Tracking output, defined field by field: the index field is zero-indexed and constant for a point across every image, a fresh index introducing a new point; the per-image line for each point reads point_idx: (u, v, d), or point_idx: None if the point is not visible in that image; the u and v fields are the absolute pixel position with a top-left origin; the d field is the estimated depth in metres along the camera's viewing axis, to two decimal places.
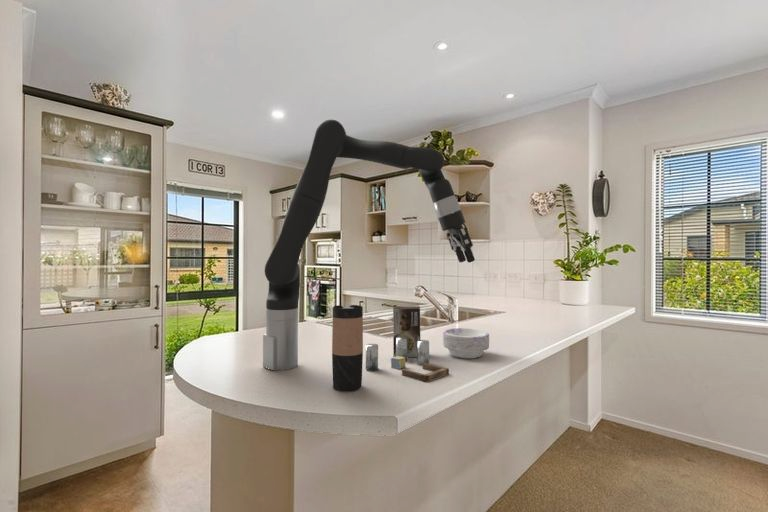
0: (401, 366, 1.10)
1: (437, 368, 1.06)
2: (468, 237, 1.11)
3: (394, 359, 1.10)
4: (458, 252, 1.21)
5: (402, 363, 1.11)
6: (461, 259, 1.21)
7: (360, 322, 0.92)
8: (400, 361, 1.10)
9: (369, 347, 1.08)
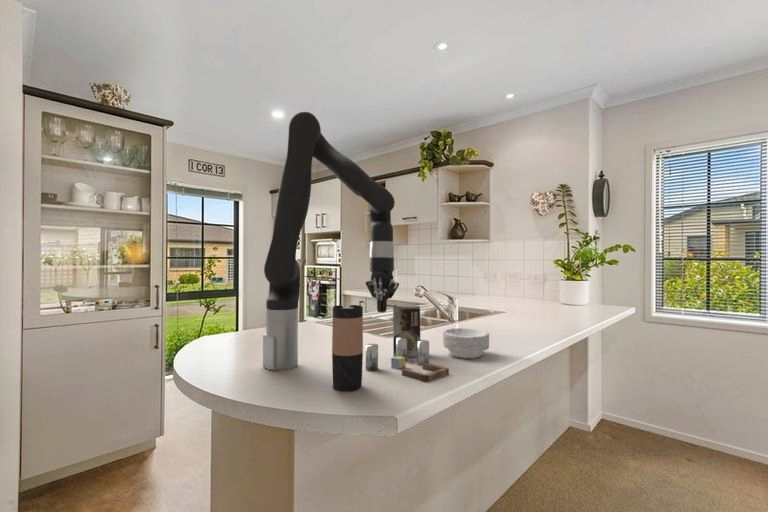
0: (401, 366, 1.10)
1: (437, 368, 1.06)
2: (394, 292, 1.14)
3: (394, 359, 1.10)
4: None
5: (402, 363, 1.11)
6: None
7: (360, 322, 0.92)
8: (400, 361, 1.10)
9: (369, 347, 1.08)
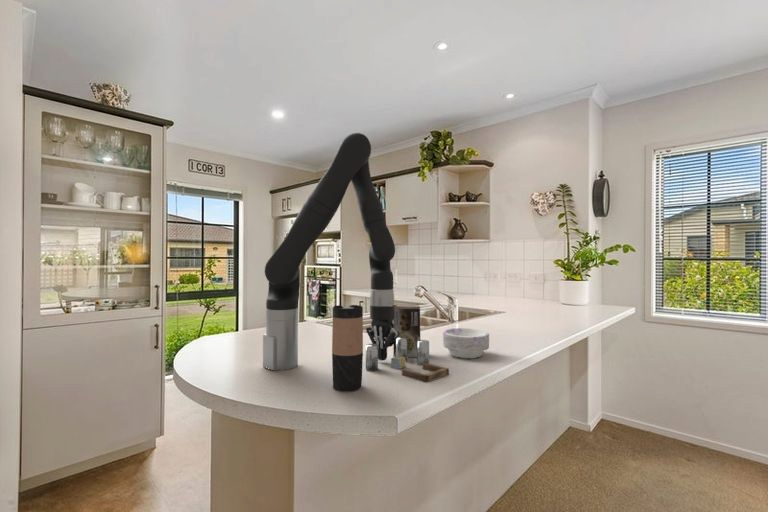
0: (401, 366, 1.10)
1: (437, 368, 1.06)
2: (394, 340, 1.14)
3: (394, 359, 1.10)
4: None
5: (402, 363, 1.11)
6: None
7: (360, 322, 0.92)
8: (400, 361, 1.10)
9: (369, 347, 1.08)
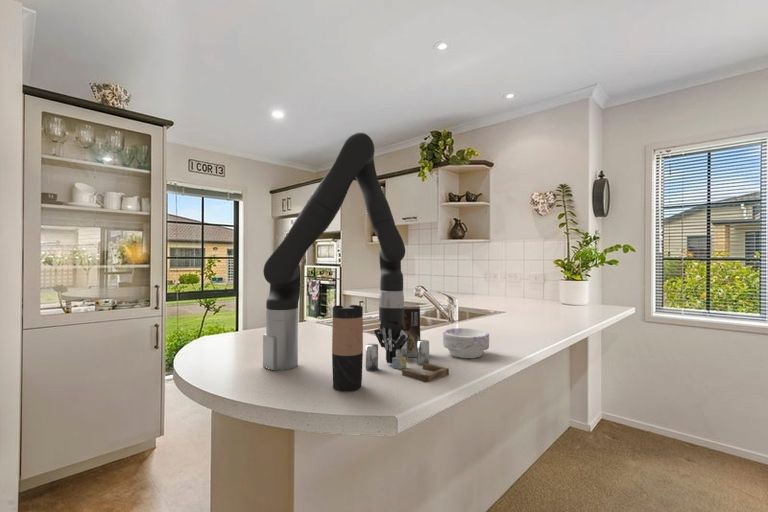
0: (402, 366, 1.10)
1: (437, 368, 1.06)
2: (403, 343, 1.11)
3: (395, 359, 1.10)
4: None
5: (403, 363, 1.10)
6: None
7: (360, 322, 0.92)
8: (401, 361, 1.09)
9: (369, 347, 1.08)
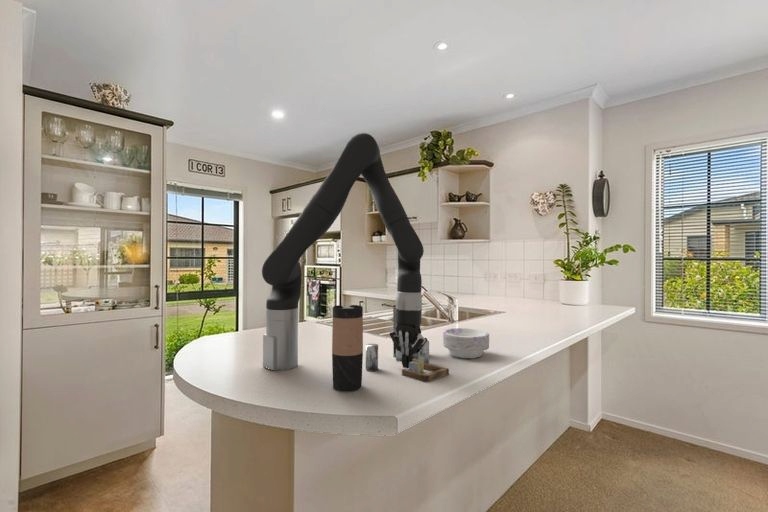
0: (419, 371, 1.05)
1: (437, 368, 1.06)
2: (421, 347, 1.06)
3: (412, 364, 1.05)
4: None
5: (421, 367, 1.05)
6: None
7: (360, 322, 0.92)
8: (418, 366, 1.04)
9: (369, 347, 1.08)
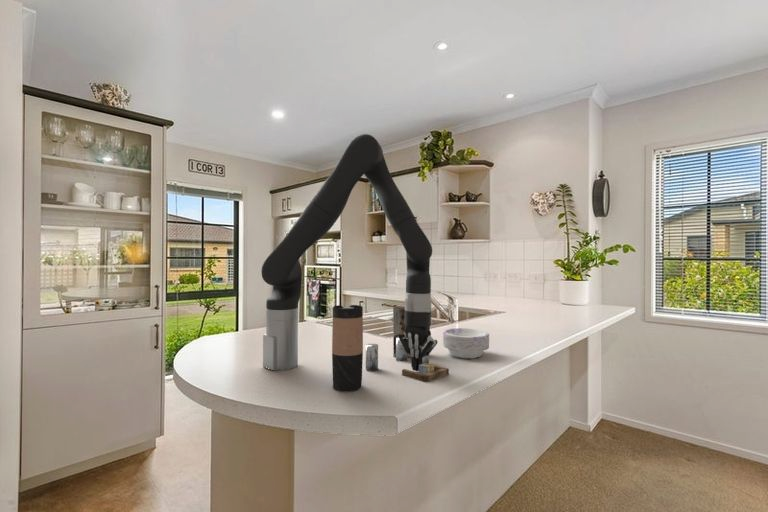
0: None
1: (437, 368, 1.06)
2: (431, 350, 1.04)
3: (422, 366, 1.03)
4: None
5: (431, 370, 1.03)
6: None
7: (360, 322, 0.92)
8: (429, 368, 1.02)
9: (369, 347, 1.08)
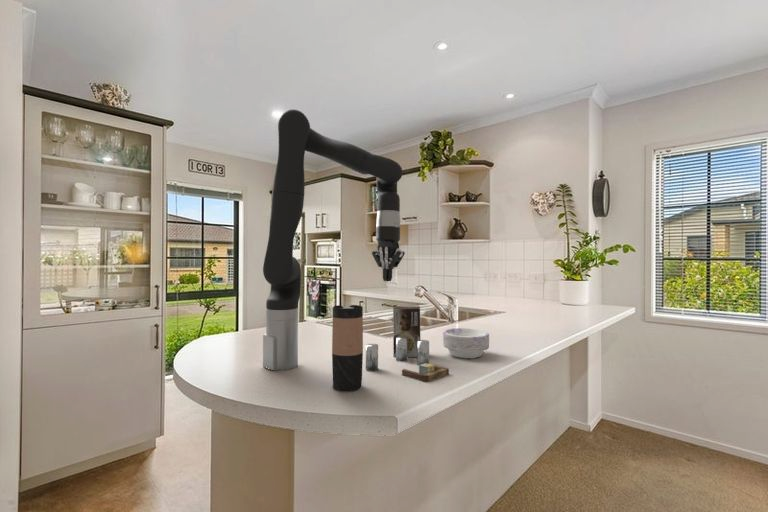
0: None
1: (437, 368, 1.06)
2: (399, 260, 1.16)
3: (422, 367, 1.02)
4: None
5: (431, 371, 1.03)
6: None
7: (360, 322, 0.92)
8: (429, 369, 1.02)
9: (369, 347, 1.08)
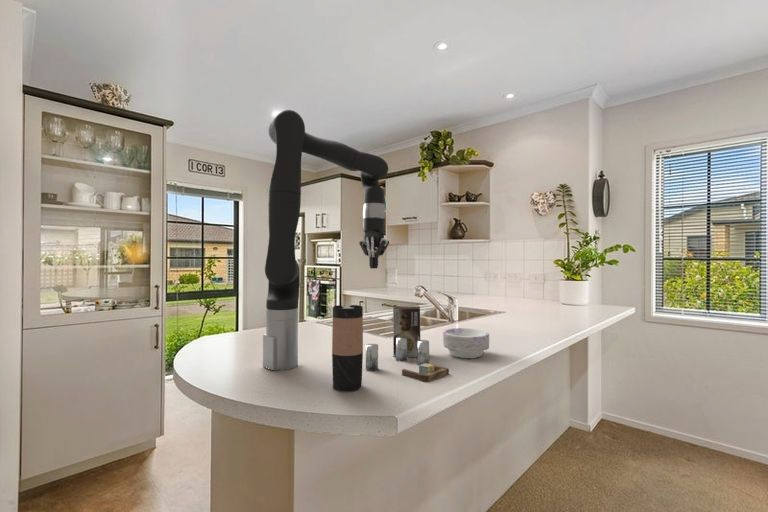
0: None
1: (437, 368, 1.06)
2: (384, 249, 1.26)
3: (422, 367, 1.02)
4: None
5: (431, 371, 1.03)
6: None
7: (360, 322, 0.92)
8: (429, 369, 1.02)
9: (369, 347, 1.08)
